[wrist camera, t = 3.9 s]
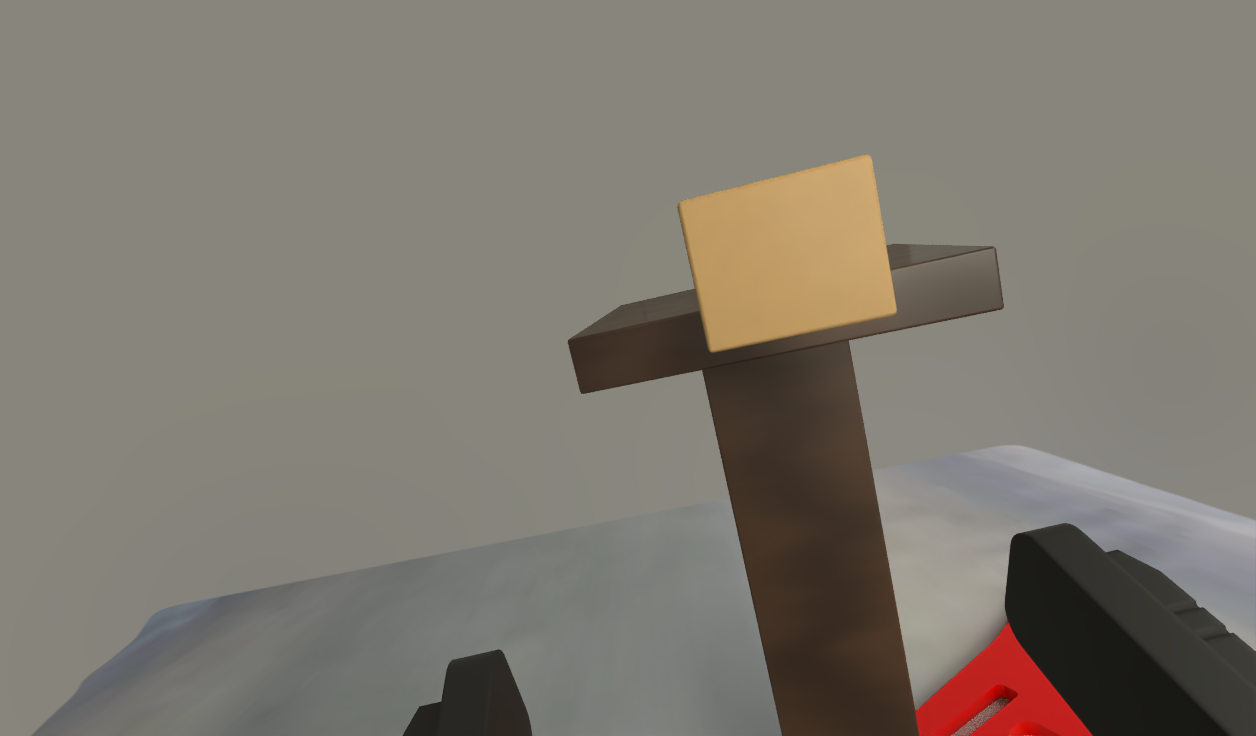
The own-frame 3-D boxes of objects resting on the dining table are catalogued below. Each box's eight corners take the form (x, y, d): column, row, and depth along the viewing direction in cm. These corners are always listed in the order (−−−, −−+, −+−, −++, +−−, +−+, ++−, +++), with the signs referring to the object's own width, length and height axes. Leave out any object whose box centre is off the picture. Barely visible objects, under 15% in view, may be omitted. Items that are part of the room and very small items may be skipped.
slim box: (708, 354, 13) (676, 201, 12) (717, 280, 36) (706, 226, 35) (899, 315, 12) (872, 152, 12) (782, 265, 35) (771, 210, 35)
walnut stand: (726, 1066, 28) (539, 346, 23) (724, 807, 40) (605, 307, 35) (1138, 1065, 25) (1031, 238, 20) (997, 786, 37) (910, 238, 32)
